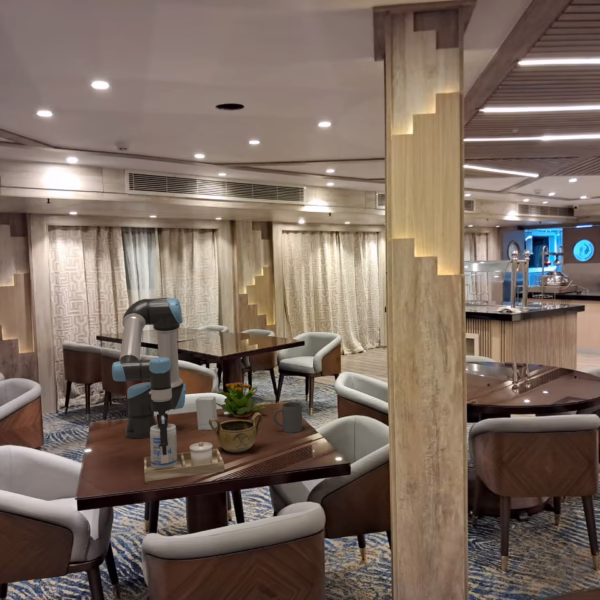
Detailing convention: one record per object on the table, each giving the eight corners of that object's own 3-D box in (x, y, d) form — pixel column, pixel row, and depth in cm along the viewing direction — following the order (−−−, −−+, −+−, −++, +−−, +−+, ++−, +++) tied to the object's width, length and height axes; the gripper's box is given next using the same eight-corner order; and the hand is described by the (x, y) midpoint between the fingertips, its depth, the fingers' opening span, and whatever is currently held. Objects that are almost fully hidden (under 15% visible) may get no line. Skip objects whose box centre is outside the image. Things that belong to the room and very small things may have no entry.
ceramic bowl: (215, 461, 218) (213, 423, 217) (206, 448, 233) (204, 413, 233) (269, 452, 226) (267, 416, 225) (256, 440, 242) (255, 407, 241)
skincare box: (217, 426, 265) (216, 396, 264) (213, 430, 259) (212, 399, 258) (201, 426, 267) (200, 396, 266) (196, 430, 261) (195, 399, 260)
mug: (299, 426, 262) (298, 401, 261) (305, 431, 253) (304, 405, 252) (271, 429, 258) (270, 404, 257) (276, 435, 249) (275, 409, 248)
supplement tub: (153, 471, 201) (151, 432, 200) (149, 463, 209) (147, 425, 208) (180, 466, 205) (178, 428, 204) (174, 459, 213) (173, 421, 212)
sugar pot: (189, 463, 214) (188, 439, 213) (211, 460, 216) (210, 437, 216) (191, 471, 206) (190, 446, 205) (214, 468, 208) (213, 443, 207)
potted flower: (275, 411, 289) (273, 378, 288) (253, 424, 268) (251, 388, 267) (233, 408, 300) (232, 376, 299) (209, 419, 278) (208, 385, 277)
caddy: (144, 467, 213) (144, 457, 213) (218, 458, 221) (217, 448, 221) (144, 483, 197) (144, 472, 197) (224, 473, 205) (223, 462, 204)
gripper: (150, 393, 215) (153, 450, 216) (151, 407, 194) (154, 469, 195) (170, 392, 217) (172, 447, 218) (173, 405, 196) (176, 467, 197)
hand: (164, 458), depth 207 cm, fingers closed on supplement tub, 9 cm apart
